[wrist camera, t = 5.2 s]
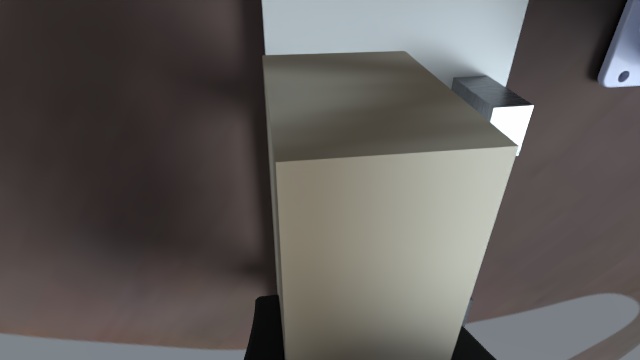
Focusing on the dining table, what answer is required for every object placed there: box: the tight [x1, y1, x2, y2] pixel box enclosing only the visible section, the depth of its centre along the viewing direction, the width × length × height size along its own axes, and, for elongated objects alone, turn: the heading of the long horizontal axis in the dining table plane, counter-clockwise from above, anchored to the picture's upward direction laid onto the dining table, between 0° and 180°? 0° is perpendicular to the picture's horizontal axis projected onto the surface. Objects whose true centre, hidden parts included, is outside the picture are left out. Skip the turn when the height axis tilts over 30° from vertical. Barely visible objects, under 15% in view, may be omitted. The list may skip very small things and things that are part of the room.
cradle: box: [261, 0, 534, 327], centre depth 18 cm, size 10×24×4 cm, turn 0°
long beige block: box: [262, 51, 518, 360], centre depth 11 cm, size 4×14×5 cm, turn 179°
